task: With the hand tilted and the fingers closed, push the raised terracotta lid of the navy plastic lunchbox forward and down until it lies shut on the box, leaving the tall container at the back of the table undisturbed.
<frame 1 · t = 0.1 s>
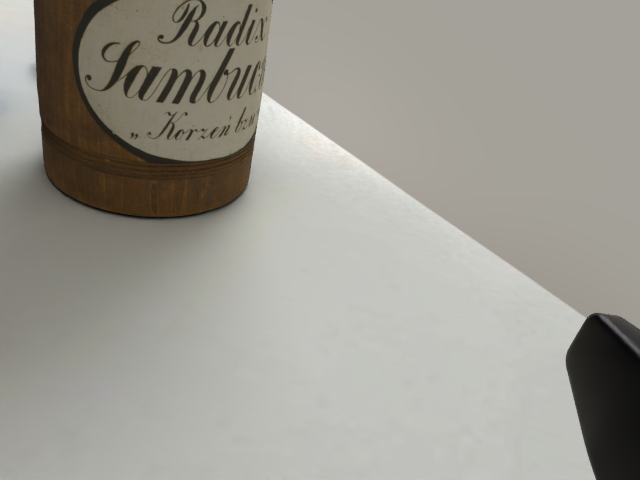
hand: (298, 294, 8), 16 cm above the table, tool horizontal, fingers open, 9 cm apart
wooden container: (152, 170, 43), on the table
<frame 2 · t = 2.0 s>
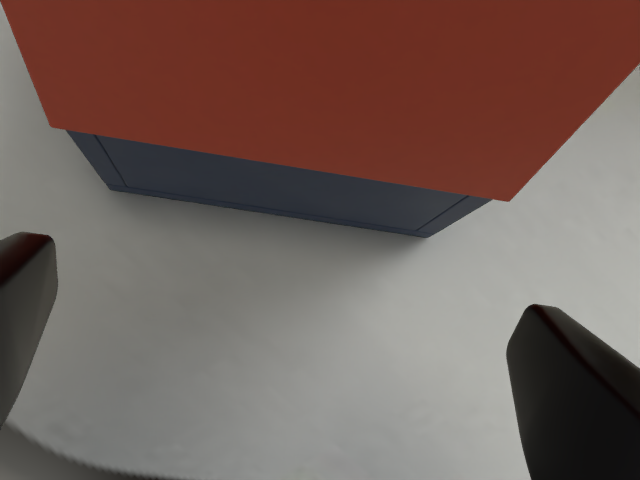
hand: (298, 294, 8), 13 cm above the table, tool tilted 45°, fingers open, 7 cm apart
lunchbox: (297, 48, 23), on the table
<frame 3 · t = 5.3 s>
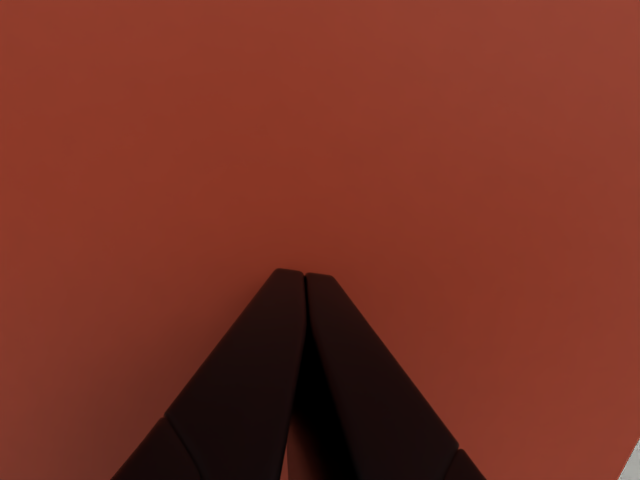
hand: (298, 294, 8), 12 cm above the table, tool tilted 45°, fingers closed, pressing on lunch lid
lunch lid: (302, 301, 9), point 11 cm above the table, hinge at 35.4°, touching gripper
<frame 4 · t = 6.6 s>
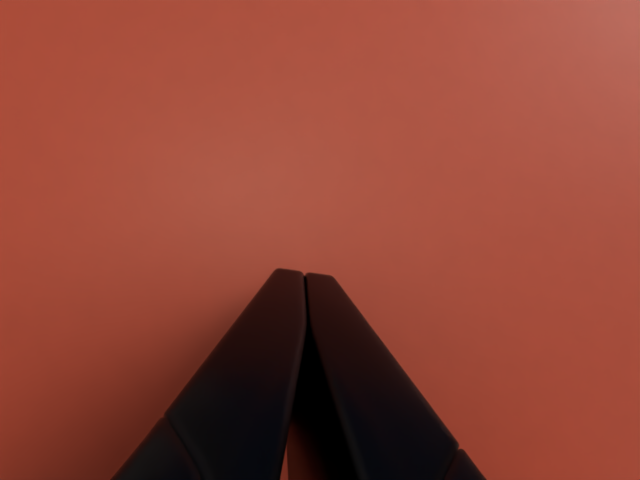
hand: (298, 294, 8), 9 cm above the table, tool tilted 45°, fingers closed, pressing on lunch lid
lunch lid: (286, 392, 9), point 8 cm above the table, hinge at 7.6°, touching gripper
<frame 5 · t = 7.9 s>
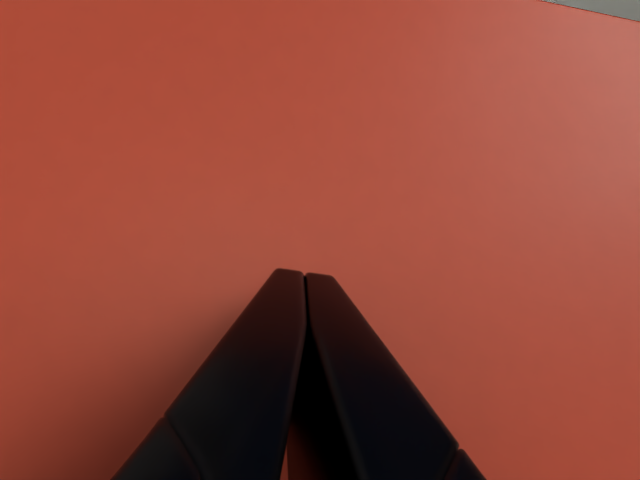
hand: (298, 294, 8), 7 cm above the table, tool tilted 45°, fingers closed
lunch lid: (287, 395, 9), point 7 cm above the table, hinge at -0.2°, touching lunchbox
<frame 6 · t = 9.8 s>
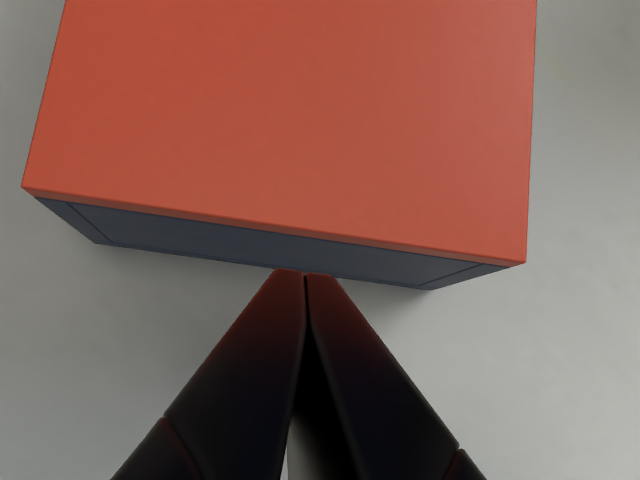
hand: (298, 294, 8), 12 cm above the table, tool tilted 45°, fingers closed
lunchbox: (294, 87, 22), on the table
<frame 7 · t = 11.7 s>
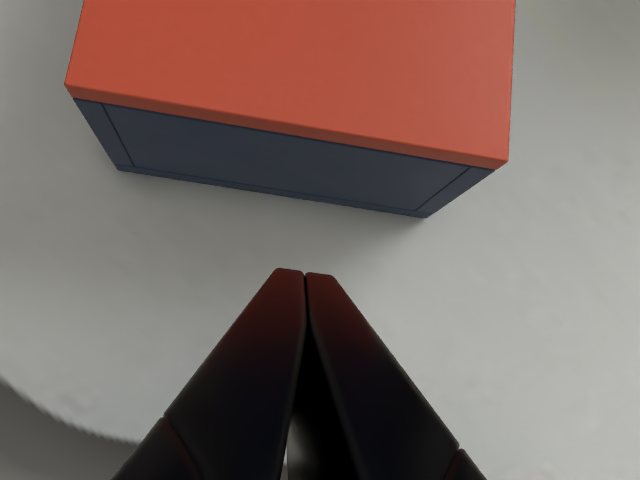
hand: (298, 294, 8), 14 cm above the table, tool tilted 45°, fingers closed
lunchbox: (299, 34, 24), on the table
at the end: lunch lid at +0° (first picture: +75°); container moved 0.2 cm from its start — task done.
